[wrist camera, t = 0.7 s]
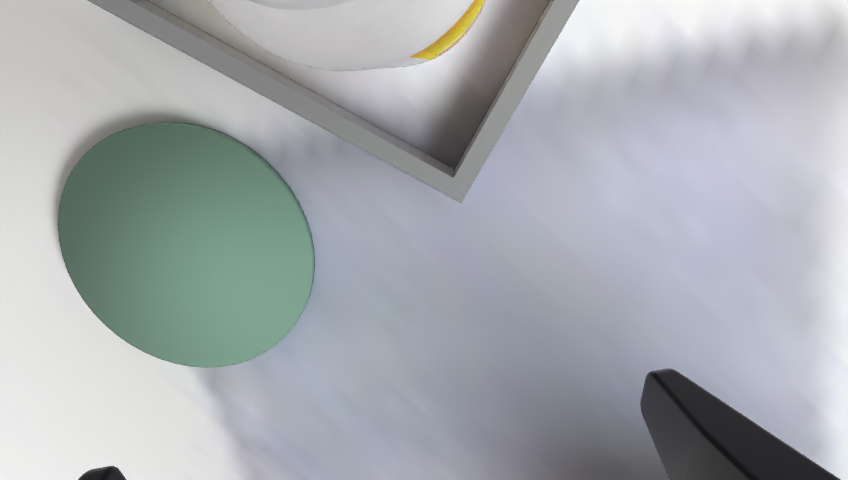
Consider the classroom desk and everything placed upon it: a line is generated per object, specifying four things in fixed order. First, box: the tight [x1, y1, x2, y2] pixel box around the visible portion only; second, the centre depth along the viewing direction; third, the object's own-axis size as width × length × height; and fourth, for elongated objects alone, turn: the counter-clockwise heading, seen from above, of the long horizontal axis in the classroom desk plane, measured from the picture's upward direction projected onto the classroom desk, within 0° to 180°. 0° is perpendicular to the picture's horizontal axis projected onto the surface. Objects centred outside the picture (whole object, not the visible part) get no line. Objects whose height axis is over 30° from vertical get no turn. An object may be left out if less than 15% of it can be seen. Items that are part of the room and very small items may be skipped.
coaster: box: [58, 122, 315, 367], centre depth 22 cm, size 11×11×1 cm
